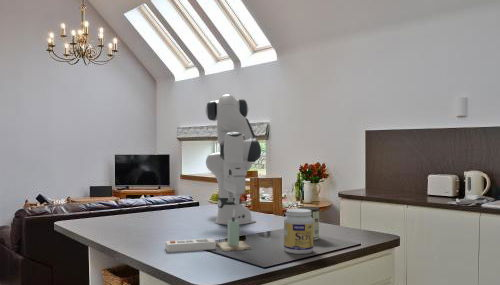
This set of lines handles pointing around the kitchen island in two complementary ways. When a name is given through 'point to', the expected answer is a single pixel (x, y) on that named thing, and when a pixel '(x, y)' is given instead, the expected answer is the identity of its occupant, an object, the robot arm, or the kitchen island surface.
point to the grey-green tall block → (233, 232)
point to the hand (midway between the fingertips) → (233, 202)
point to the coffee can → (316, 220)
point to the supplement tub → (298, 231)
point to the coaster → (226, 247)
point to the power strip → (190, 245)
